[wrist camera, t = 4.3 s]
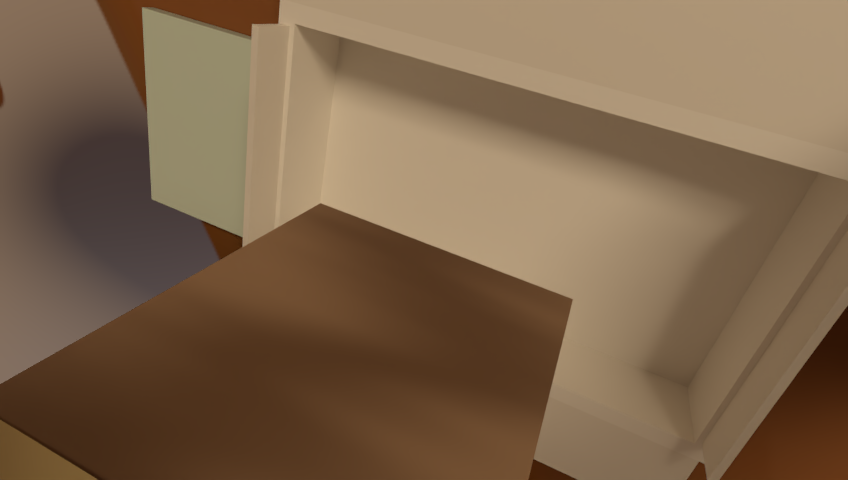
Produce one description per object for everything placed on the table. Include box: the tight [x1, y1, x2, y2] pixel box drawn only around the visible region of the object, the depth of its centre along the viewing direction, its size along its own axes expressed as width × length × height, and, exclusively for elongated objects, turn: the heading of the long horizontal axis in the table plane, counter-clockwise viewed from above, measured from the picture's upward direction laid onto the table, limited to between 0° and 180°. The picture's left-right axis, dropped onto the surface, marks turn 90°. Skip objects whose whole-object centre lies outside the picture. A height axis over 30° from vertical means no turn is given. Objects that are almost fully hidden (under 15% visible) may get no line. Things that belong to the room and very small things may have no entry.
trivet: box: [142, 7, 252, 237], centre depth 23 cm, size 9×9×1 cm
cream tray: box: [242, 0, 848, 480], centre depth 17 cm, size 17×16×5 cm
